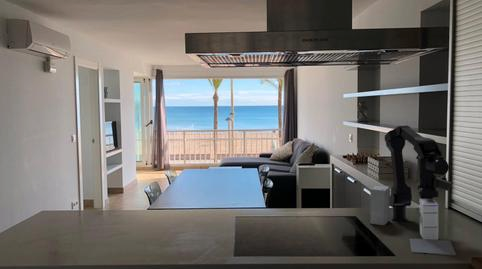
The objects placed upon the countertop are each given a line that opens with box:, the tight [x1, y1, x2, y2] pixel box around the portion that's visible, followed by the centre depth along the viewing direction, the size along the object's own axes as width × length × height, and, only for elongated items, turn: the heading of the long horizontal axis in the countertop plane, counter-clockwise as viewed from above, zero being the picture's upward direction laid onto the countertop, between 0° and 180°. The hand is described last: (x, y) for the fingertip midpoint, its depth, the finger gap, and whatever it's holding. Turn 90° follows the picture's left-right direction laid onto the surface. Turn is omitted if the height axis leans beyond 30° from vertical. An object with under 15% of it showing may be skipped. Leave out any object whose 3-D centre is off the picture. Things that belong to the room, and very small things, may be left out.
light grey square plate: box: [409, 238, 457, 257], centre depth 150 cm, size 15×14×1 cm
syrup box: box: [419, 198, 439, 240], centre depth 160 cm, size 6×6×14 cm
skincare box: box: [369, 185, 391, 226], centre depth 184 cm, size 8×7×16 cm
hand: (427, 210), depth 165 cm, fingers closed
